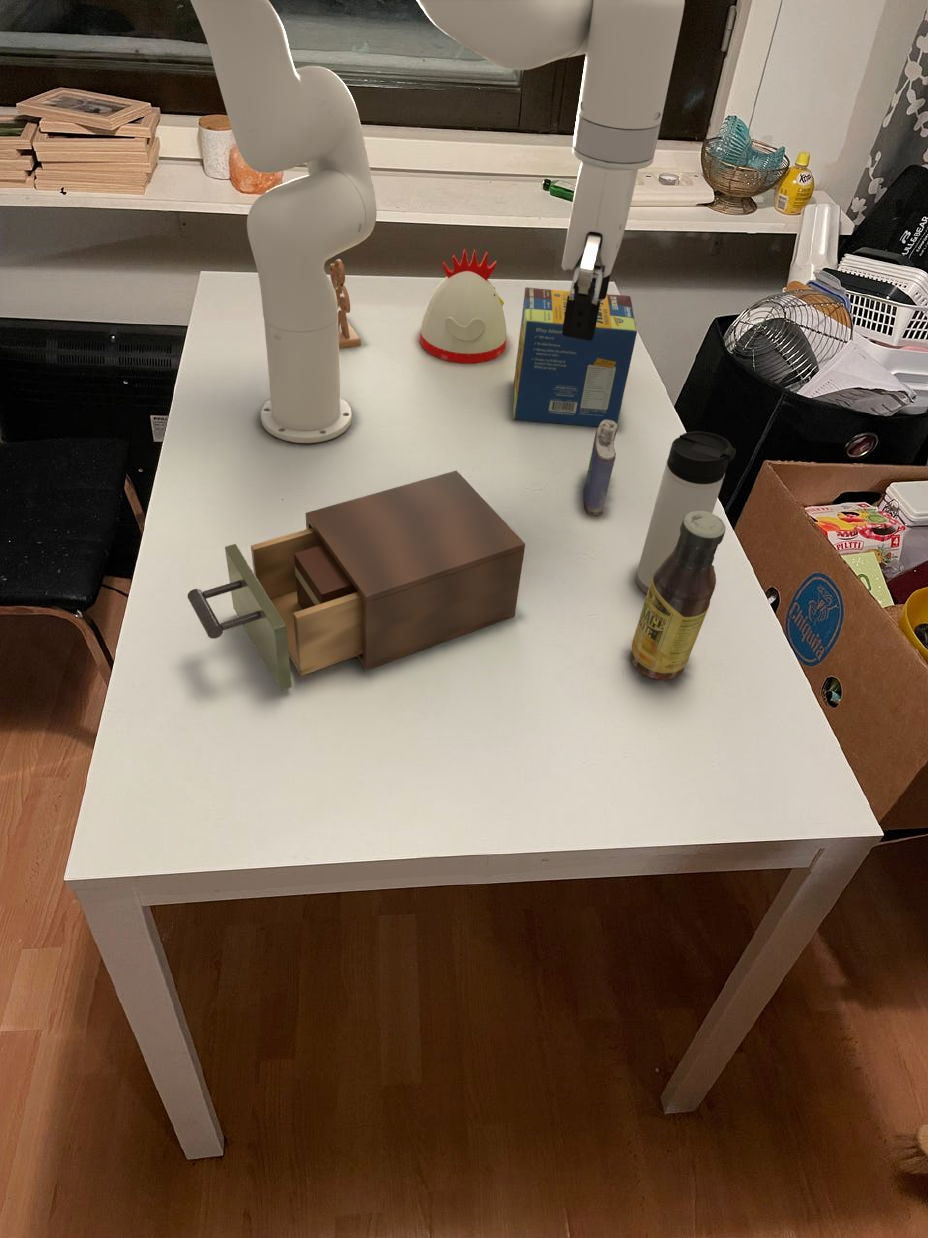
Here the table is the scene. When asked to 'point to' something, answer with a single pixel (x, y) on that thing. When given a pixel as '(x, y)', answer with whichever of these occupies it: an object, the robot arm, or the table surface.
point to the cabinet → (423, 563)
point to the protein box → (572, 361)
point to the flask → (600, 467)
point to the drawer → (283, 610)
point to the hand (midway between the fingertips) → (584, 315)
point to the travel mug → (683, 494)
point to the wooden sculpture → (343, 307)
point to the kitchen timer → (465, 315)
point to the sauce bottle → (678, 599)
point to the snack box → (319, 577)
